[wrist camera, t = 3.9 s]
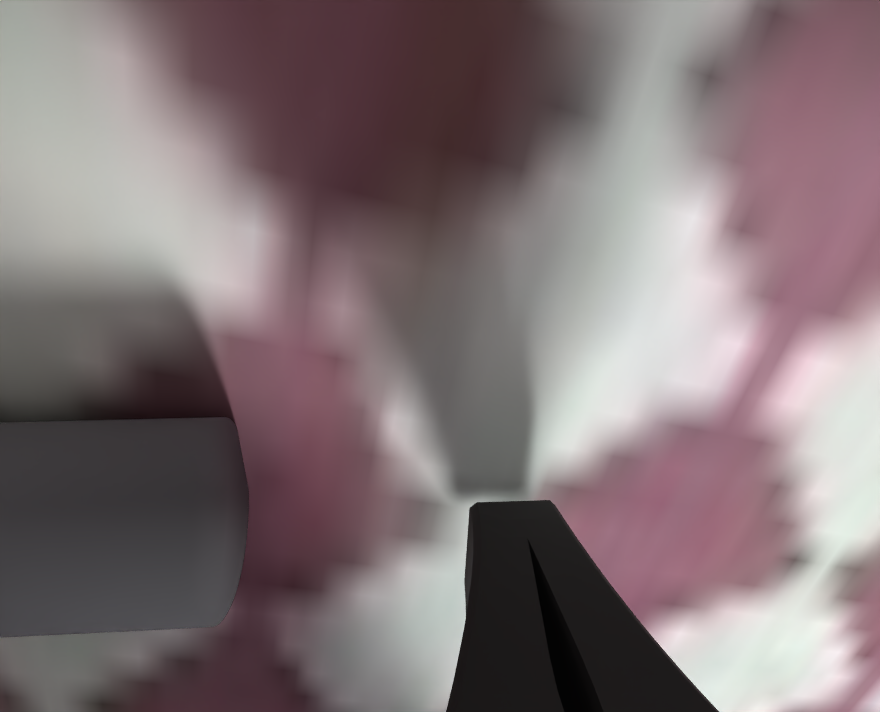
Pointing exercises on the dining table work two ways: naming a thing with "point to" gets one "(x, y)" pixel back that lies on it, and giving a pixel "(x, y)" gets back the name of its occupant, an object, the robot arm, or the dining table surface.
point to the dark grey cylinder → (120, 524)
